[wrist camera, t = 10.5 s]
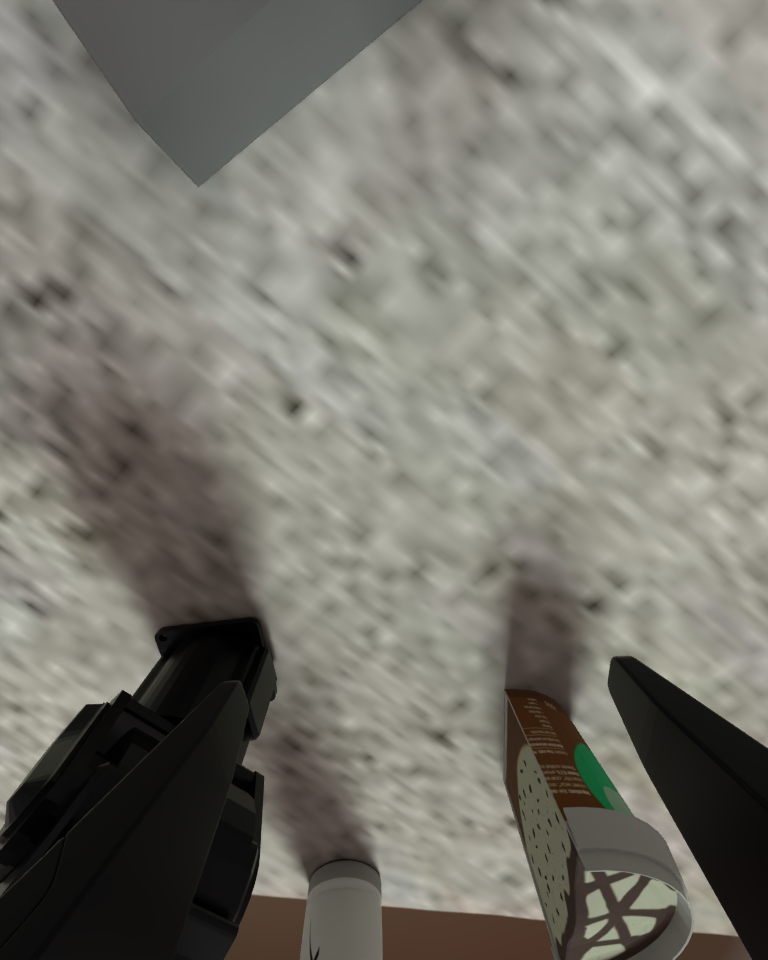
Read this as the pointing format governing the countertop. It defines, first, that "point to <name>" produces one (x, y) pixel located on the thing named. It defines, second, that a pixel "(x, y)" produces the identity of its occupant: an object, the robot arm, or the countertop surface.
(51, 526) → the countertop surface
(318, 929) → the travel mug
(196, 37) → the cover
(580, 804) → the food container
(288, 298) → the countertop surface
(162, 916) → the robot arm
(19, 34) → the countertop surface
